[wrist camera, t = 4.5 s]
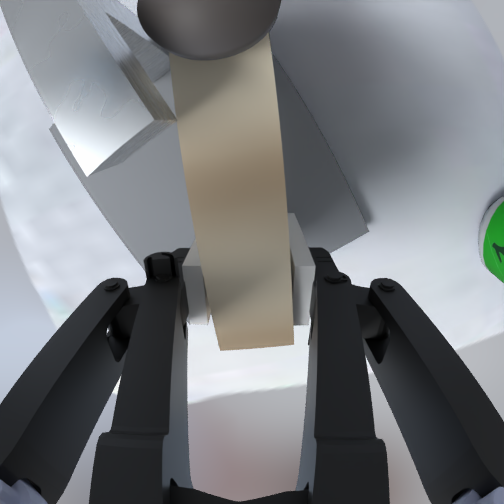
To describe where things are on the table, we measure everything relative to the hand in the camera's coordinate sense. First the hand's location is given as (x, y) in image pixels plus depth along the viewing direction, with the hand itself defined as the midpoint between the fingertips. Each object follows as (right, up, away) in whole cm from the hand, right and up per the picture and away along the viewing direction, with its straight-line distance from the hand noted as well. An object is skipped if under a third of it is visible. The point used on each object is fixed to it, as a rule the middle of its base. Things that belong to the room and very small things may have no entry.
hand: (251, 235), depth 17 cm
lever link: (-1, +4, -3) cm, 5 cm away
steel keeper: (-5, +10, -1) cm, 11 cm away
